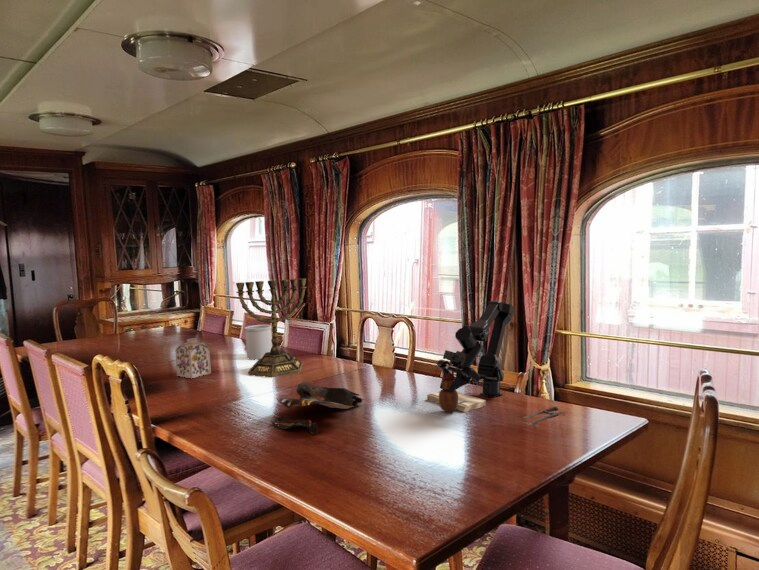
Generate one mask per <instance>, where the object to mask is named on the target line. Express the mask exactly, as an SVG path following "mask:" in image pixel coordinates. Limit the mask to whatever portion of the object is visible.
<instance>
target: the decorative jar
mask: <svg viewBox="0 0 759 570" xmlns="http://www.w3.org/2000/svg"><path fill="white" fill-rule="evenodd" d="M174 353H175V364H176V365H175V368H176V369H175V370H176V377H178V376H180V377H179V378H184V377H185V379H190V378H191V380H193V379H195V378H200V377H203V375H204V376H206V375H211V374H212V371H211V370H212V369H211V365H212V364H211V350H210V346H209V345H208V344H207V343H206V342H205V341H201V340H198V338H197V337H195V338H192V337H191V338H188V339H186V342H182V343H180V344H178V346H177V347H176V349H175V352H174ZM199 376H200V377H199ZM192 378H193V379H192Z"/></svg>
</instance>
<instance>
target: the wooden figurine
mask: <svg viewBox="0 0 759 570" xmlns="http://www.w3.org/2000/svg"><path fill="white" fill-rule="evenodd" d="M454 373H455V372H454V369H453V370H452V374H451V377H450V371H448V377H447V373H446V377H445V376H444V377H443V376H442V377H443V381H442V380H441V381H442V383H441V382H440V385H441V386H442V389H441V390H440V393H439V403H440V404H439V403H438V404H439V406H440V407H441V410H442V411H445V412H454V411H456V408H457V404H458V393H457V392H458V391H457V389H456V390H455V391H453V392H449V389H450V387H451V385H452V384H453V382H454V380H455V378H454V377H455V376H454V375H455V374H454Z"/></svg>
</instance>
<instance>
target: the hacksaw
mask: <svg viewBox="0 0 759 570" xmlns="http://www.w3.org/2000/svg"><path fill="white" fill-rule="evenodd" d="M559 409H560V408H559V407H558V406H551V407H549V408H547V409H544V410H542V411H538V412H535V413H532V414H528V415H526V416H523V417H522V418H525V419H526V418H532V417H534V416H537V415H538V416H539V415H541V414H543V413H544V414H548V415H546V416H544V417H541V418H539V419H536V420H534V421H531V422H529V423H528V422H526V421H520V420H516V419H515V422H517V423H524V424H526V425H527V426H530V425H532V427H533V428H530V429H529V431H530V430H535V429H536V428H537V427H536V426H535V425H536V424H538V423H539V422H541V421H544V420H547V418H548V419H550V418H553V416H554V417H557V416H559V415H560V414H563V416H565V415H566V413H565V411H564V412H562V411H559V412H556V411H558V410H559ZM553 410H555V412H553ZM549 411H550V412H549ZM524 429H526V430H527V428H526V427H525V428H524Z"/></svg>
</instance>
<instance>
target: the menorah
mask: <svg viewBox="0 0 759 570" xmlns="http://www.w3.org/2000/svg"><path fill="white" fill-rule="evenodd" d="M264 282H265V281H264V280H257V281H255V282H254V281H245V282H236V283H235V286H236V288H237V291H236V294H237V295H238V299H239V302H240V304H241V308H242V309H244V311H245V312H246V313H247V315H249V317H251V318H253V319H255V320H257V321H258V322H263V323H268V324H269V323H270V324H271V337H272V339H271V342H272V348H271V350H270V352H267V353H265V354H264V356H263V357H262V358H261V359H258V360H257V361H256V362H255V363H254V364H253V365H252V366H251V368H250V369H249V371H248V373H247V374H248V376H253V375H255V376H254V377H263V376H265V377H264V378H272V377H273V378H278V377H282V376H283V375H284V376H290V375H295V374H300V373H301V372H302V370H301V369H303V367H302V366H304V364H303V362H302V361H301V360H299V359H298V358H297V357H295V356H292V355H291V354H290V353H289V352H288V351H283V350H281V348H280V346H279V345H278V344H279V343H280V339H279V337H278V334H279V333H278V328H277V327H278V323H279V322H282V321H284V320H287V319H290V318H291V316H293V315H294V314H295V313H297V312H298V309H299V308H300V306H301V305H302V304H303V302H304V297H305V291H306V289H307V286H306V283H307V278H293V279H292V278H291V279H280V283H281V285H282V288H281V291H282V292H283V293H282V295H281V296H280V298H279V299H278V300H277V301H276V297H275V295H276V291H278V290H277V288H276V286H277V284H278V280H272V279H271V280H267V284H268V287H269V289H268V292H269V291H270V294H271V299H270V301H271V302H270V301H268V300H267V299H266V297H264V296H263V292H264V291H265V289H263V287H264ZM289 282H290V285H291V287H290V288H289V287H288V286H289ZM298 283H299V287H298ZM254 284H255V286H256V288H257V289H256V290H253V289H254ZM244 287H246V290H244ZM298 289H300V295H299V298H298V299H297V303H296V304H295V306H294V307H293V308H292V310H291V311H289V313H286V314H285V315H283V316H281V317H278V315H277V314H279V313H281V312H283V311H286V310H287V309H288V308H289V307H290V306H291V305H292V304H293V303H294V300H295V297H296V295H297V291H298ZM288 290H291V297H290V299H288V302H287V303H286V304H285V305H284V306H282V307H281V308H279V309H277V305H280V304H281V303H283V302H284V301H285V300H286V297H287V295H288V294H287V293H288ZM255 292H257V295H258V297H259V299H260V302H261V303H263V304H264V305H267V306H270V310H268V309H265V308H263V307H261V306H260V305H258V302H256V301H255V298H254V296H253V295H254V294H253V293H255ZM244 293H247V296H248V299H249V301H250V302H251V305H252V306H253V307H254V308H255V309H257V310H258V311H259V312H260V313H264V314H269V315H271V316H270V318H264V317H262V316H259V315H257V314H255V312H254V311H252V310H251V309H250V308H249V307H248V304H246V302H245V300H244ZM277 376H278V377H277ZM284 376H283V377H284Z"/></svg>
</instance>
